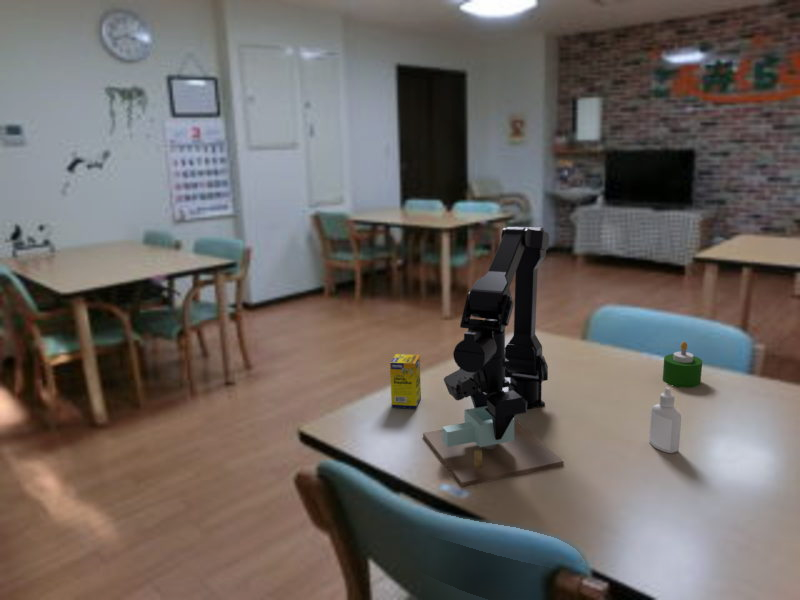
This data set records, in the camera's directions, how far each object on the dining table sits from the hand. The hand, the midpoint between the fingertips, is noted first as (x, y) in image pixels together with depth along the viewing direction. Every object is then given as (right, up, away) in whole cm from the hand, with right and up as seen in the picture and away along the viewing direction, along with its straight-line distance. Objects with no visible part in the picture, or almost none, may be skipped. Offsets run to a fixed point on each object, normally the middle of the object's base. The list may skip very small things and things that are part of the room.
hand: (489, 430), depth 117 cm
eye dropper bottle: (+33, -3, -1) cm, 33 cm away
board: (0, -4, +1) cm, 4 cm away
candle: (+50, +5, +30) cm, 59 cm away
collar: (-3, -1, -1) cm, 3 cm away
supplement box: (-16, +1, +24) cm, 28 cm away
